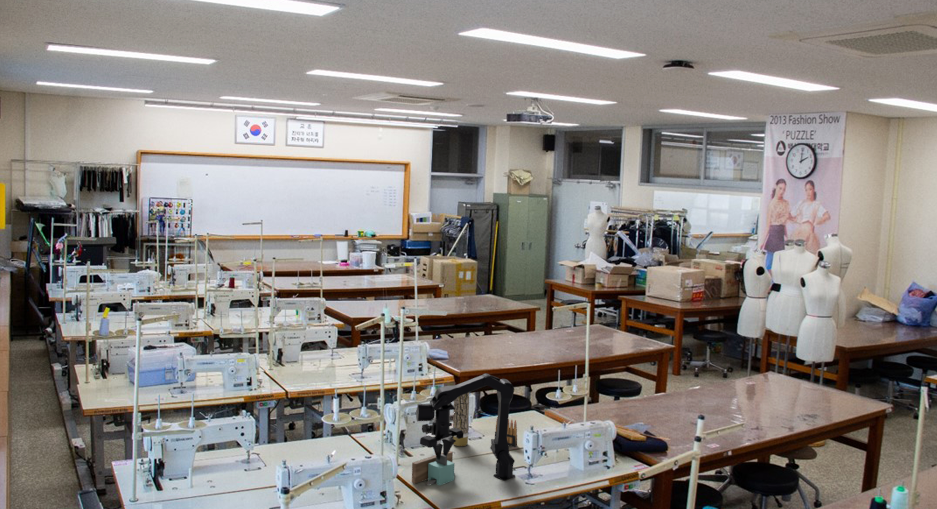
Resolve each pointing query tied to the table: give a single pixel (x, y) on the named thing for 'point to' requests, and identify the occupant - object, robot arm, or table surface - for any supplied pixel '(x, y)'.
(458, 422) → the bark textured cylinder
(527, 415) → the table surface
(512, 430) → the ammunition clip
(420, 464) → the brown wooden beam
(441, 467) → the teal handled box
